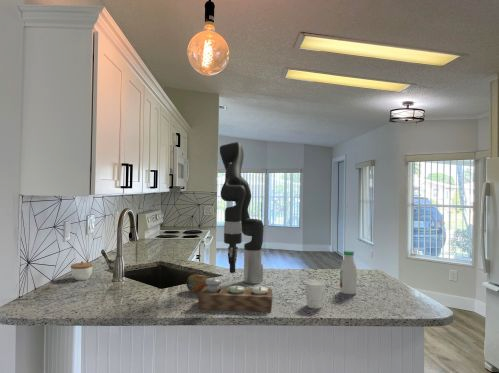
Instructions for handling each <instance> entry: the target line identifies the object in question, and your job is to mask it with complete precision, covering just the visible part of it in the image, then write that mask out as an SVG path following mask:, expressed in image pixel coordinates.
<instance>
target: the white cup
mask: <svg viewBox="0 0 499 373" xmlns="http://www.w3.org/2000/svg"><path fill="white" fill-rule="evenodd" d="M325 284H326V283H325V282H324V281H323V280H322V281H321V280H315V279H314V280H307V281H305V296H306V306H307V307H308V308H310V309H314V310H315V309H316V310H318V309H322V308H323V307H324V300H325V299H324V298H325Z"/></svg>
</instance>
